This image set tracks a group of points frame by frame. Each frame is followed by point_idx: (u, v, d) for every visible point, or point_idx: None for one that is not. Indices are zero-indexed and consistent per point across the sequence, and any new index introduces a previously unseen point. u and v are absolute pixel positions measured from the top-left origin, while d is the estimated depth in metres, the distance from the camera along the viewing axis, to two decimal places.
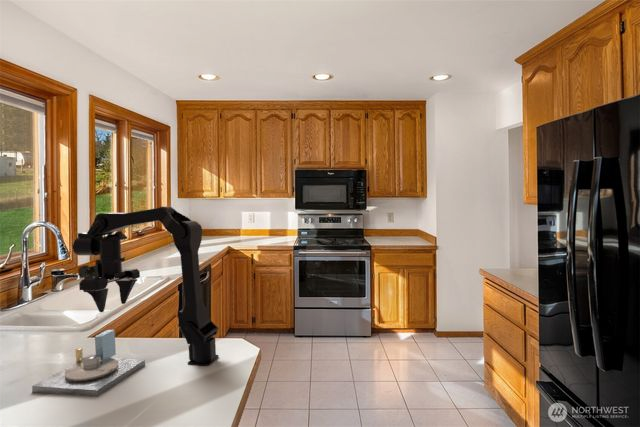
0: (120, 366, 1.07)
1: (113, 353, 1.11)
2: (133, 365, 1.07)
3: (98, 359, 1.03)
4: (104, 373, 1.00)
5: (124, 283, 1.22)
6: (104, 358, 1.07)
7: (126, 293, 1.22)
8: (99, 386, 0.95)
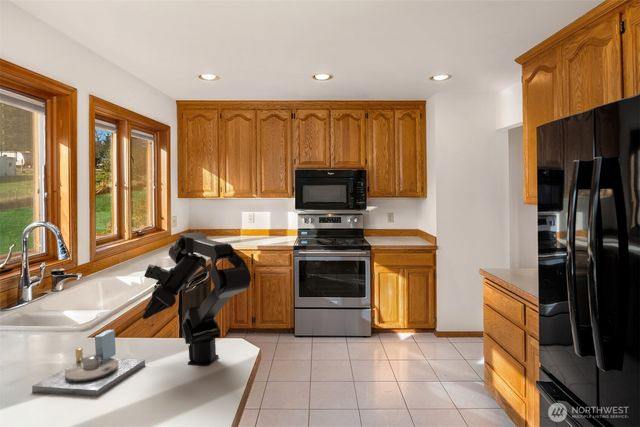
0: (120, 366, 1.07)
1: (113, 353, 1.11)
2: (133, 365, 1.07)
3: (98, 359, 1.03)
4: (104, 373, 1.00)
5: None
6: (104, 358, 1.07)
7: None
8: (99, 386, 0.95)
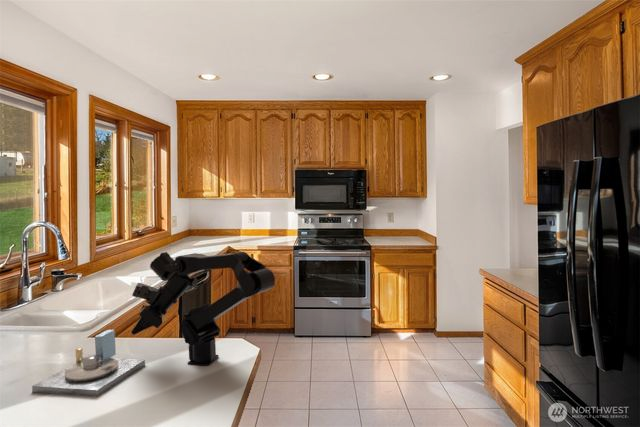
0: (120, 366, 1.07)
1: (113, 353, 1.11)
2: (133, 365, 1.07)
3: (98, 359, 1.03)
4: (104, 373, 1.00)
5: None
6: (104, 358, 1.07)
7: None
8: (99, 386, 0.95)
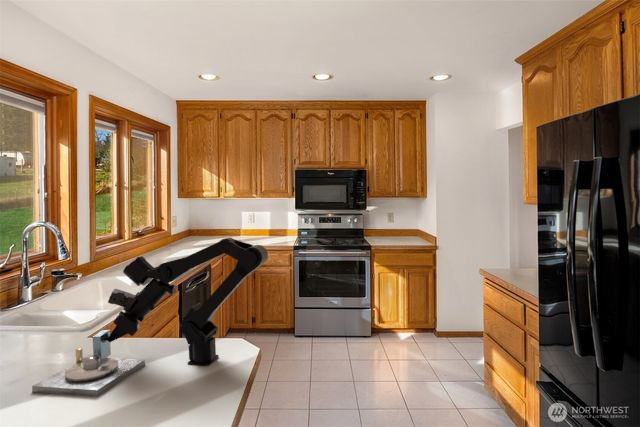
0: (120, 366, 1.07)
1: (109, 353, 1.11)
2: (133, 365, 1.07)
3: (99, 358, 1.03)
4: (108, 371, 1.01)
5: None
6: (102, 358, 1.07)
7: None
8: (99, 386, 0.95)
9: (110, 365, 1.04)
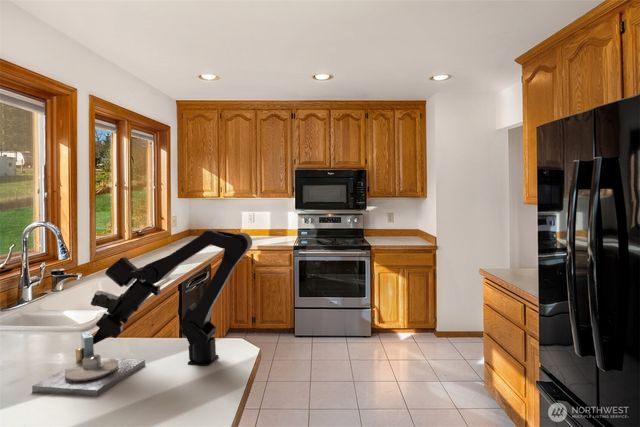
0: (120, 366, 1.07)
1: None
2: (133, 365, 1.07)
3: None
4: (117, 365, 1.05)
5: None
6: None
7: None
8: (99, 386, 0.95)
9: (111, 361, 1.06)
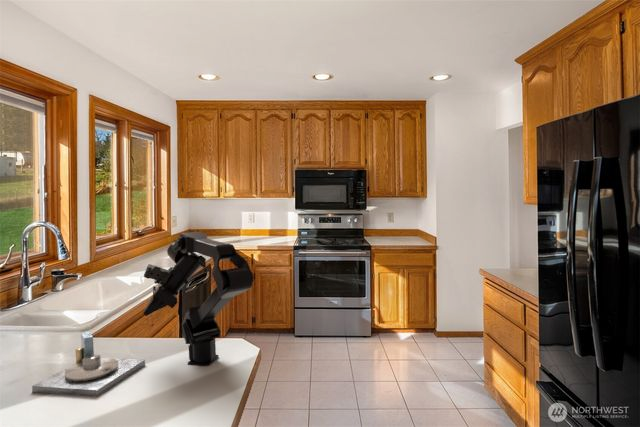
0: (120, 366, 1.07)
1: None
2: (133, 365, 1.07)
3: None
4: (117, 365, 1.05)
5: None
6: None
7: None
8: (99, 386, 0.95)
9: (111, 361, 1.06)
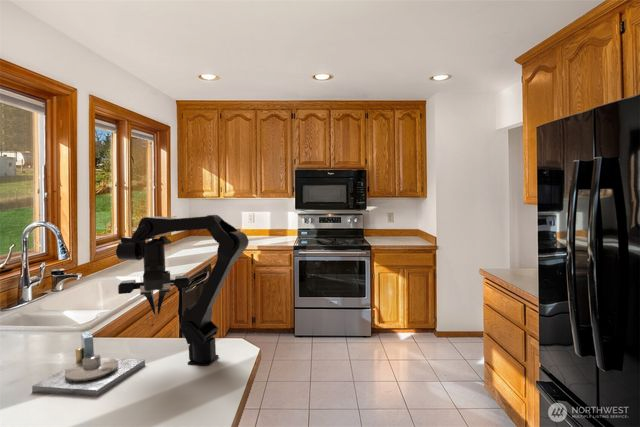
0: (120, 366, 1.07)
1: None
2: (133, 365, 1.07)
3: None
4: (117, 365, 1.05)
5: (152, 292, 1.15)
6: None
7: (154, 302, 1.16)
8: (99, 386, 0.95)
9: (111, 361, 1.06)
